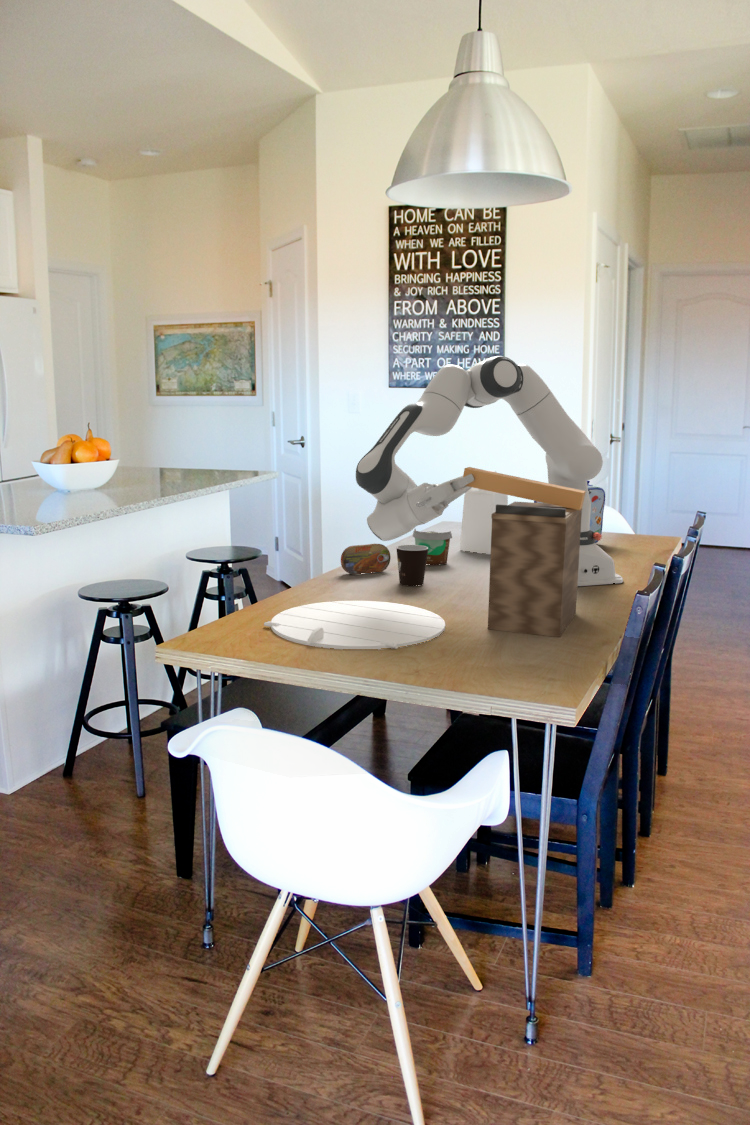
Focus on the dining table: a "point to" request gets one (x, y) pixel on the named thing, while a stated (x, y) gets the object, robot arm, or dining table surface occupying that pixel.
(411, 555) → the coffee mug
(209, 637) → the dining table surface
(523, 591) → the walnut stand
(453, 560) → the dining table surface
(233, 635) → the dining table surface
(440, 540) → the food container
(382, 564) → the tin
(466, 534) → the milk
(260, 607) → the dining table surface
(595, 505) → the lunch box
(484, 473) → the orange block
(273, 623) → the lazy susan
